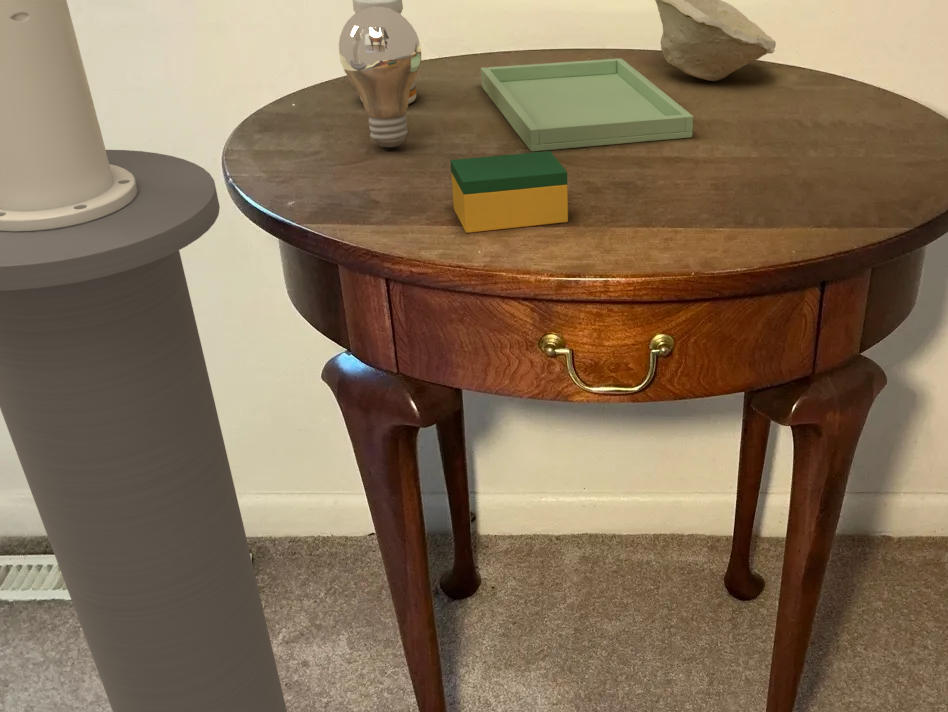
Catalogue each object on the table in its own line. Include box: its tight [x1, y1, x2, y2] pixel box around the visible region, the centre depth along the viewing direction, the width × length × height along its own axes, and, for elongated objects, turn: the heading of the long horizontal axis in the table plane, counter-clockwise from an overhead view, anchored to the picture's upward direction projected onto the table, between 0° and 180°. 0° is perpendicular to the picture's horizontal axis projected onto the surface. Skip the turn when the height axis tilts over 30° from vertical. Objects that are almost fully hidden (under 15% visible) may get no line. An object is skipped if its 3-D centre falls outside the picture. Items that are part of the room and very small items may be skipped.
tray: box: [480, 57, 694, 153], centre depth 105 cm, size 16×22×2 cm
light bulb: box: [338, 7, 422, 151], centre depth 91 cm, size 7×7×12 cm
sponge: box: [449, 150, 569, 234], centre depth 81 cm, size 8×5×4 cm, turn 107°
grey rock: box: [654, 0, 777, 82], centre depth 113 cm, size 15×14×10 cm
